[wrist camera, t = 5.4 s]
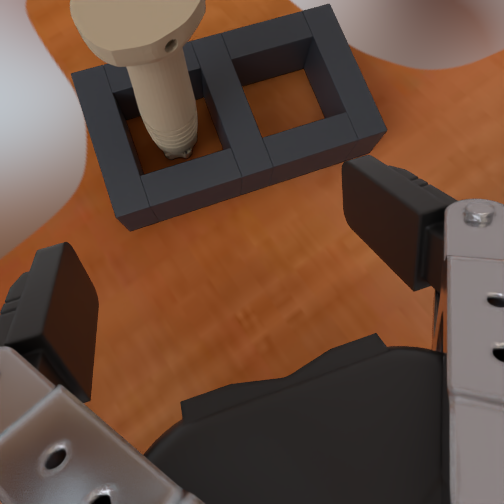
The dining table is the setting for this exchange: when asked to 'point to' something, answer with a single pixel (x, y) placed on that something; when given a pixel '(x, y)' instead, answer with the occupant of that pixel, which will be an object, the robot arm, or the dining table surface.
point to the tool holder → (235, 117)
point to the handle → (149, 60)
